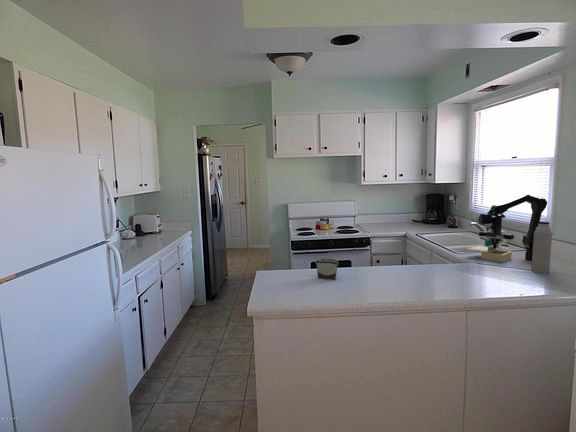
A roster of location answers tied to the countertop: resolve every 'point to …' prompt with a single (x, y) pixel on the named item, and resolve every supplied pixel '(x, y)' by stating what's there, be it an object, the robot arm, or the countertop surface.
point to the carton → (496, 256)
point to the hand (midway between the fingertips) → (495, 248)
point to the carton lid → (483, 249)
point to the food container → (326, 268)
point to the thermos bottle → (542, 248)
